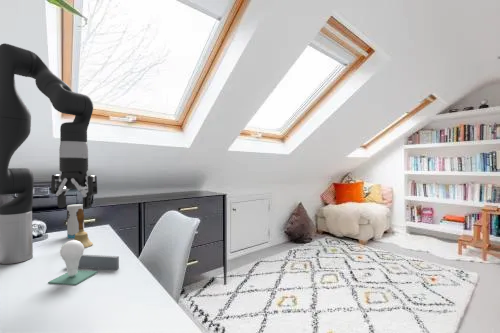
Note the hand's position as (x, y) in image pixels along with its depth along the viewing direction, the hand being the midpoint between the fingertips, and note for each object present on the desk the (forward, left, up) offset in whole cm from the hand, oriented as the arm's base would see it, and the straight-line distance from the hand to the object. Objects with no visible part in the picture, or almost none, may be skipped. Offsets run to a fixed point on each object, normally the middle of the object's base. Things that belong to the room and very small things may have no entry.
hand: (74, 208), depth 84 cm
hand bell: (-20, +27, -21) cm, 40 cm away
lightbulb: (+1, -2, -21) cm, 21 cm away
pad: (+2, -2, -21) cm, 21 cm away
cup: (-34, +40, -21) cm, 57 cm away
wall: (+2, +6, -21) cm, 22 cm away
